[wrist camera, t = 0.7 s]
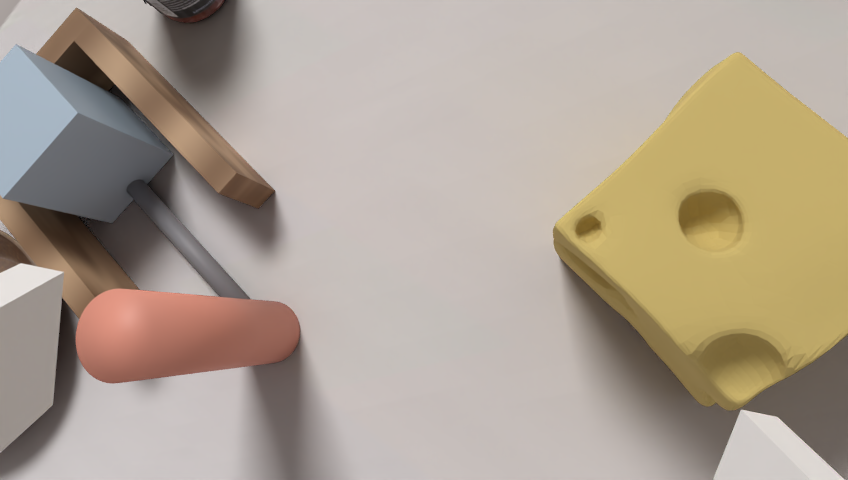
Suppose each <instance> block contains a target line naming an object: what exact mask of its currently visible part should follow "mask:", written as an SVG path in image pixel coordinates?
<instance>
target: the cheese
mask: <svg viewBox="0 0 848 480" xmlns="http://www.w3.org/2000/svg"><path fill="white" fill-rule="evenodd" d="M553 238H554V248H555V250H556V252H557V254H558V255H559V257H560V258H561V259H562V260H563V261H564V262H565V263H566V264H567V265H568V266H569V267H570V268H571V269H572V270H573V271H574V272H575V273H576V274H577V275H578V276H579V277H580V278H581V279H582V280H583V281H585V282H586V283H587V284H588V285H589V286H590V287H591V288H592V289H593V290H594V291H595V292H596V293H597V294H598V295H599V296H600V297H601V298H602V299H603V300H604V301H605V302H606V303H608V304H609V305H610V306H611V307H612V308H613V309H614V310H616V311H617V312H618V313H619V314H620V315H622V316H623V317H624V318H625V319H626V320H627V321H628V322H629V323H630V324H631V325H632V326H633V327H634V328H635V329H636V330H637V331H638V332H639V334H640V335H641V336H642V337H643V338H644V339H645V341H646V342H647V344H648V345H649V346H650V348H651V349H652V350H653V351H654V352H655V353H656V354H657V355H658V356H659V357H660V359H661V360H662V361H663V362H664V363H665V364H666V365H667V366H668V367H669V368H670V370H671V371H672V372H673V373H674V374H675V376H676V377H677V378H678V379H679V380H680V382H681V383H682V384H683V385H684V387H685V388H686V389H687V390H688V391H689V393H690V394H691V395H692V396H693V397H694V399H695V400H696V401H697V402H698V403H700V404H701V405H703V406H706V407H708V406H712V405H714V404H715V403H717V404H718V405H719V406H721V407H722V408H724V409H725V410H728V411H729V410H736V409H739V408H741V407H743V406H744V405H746V404H747V403H748V402H749V401H751V400H752V399H753V398H754V397H755V396H757V395H758V394H759V393H761V392H762V391H764V390H765V389H767V388H768V387H770V386H772V385H774V384H775V383H777V382H779V381H781V380H783V379H785V378H787V377H789V376H791V375H793V374H795V373H796V372H798V371H799V370H801V369H802V368H804V367H806V366H807V365H809V364H811V363H812V362H814V361H815V360H816V359H818V358H819V357H820V356H822V355H823V354H824V353H826V352H827V351H828V350H830V349H831V348H832V347H833V346H835V345H836V344H837V343H838V342H839V341H841V340H842V339H843V338H844V337H846V336H847V335H848V138H847V137H846V136H844V135H843V134H842V133H840V132H839V131H838V130H837V129H835V128H834V127H833V126H831V125H830V124H829V123H828V122H826V121H825V120H824V119H822V118H821V117H820V116H819V115H817V114H816V113H815V112H813V111H812V110H811V109H810V108H808V107H807V106H806V105H804V104H803V103H802V102H801V101H799V100H798V99H797V98H795V97H794V96H793V95H791V94H790V93H789V92H788V91H787V90H785V89H784V88H783V87H782V86H780V85H779V84H778V83H777V82H775V81H774V80H773V79H772V78H771V77H769V76H768V75H767V74H766V73H764V72H763V71H762V70H761V69H760V68H758V67H757V66H756V65H755V64H754V63H753V62H751V61H750V60H749V59H748V58H747V57H745V56H744V55H743V54H741V53H739V52H736V53H734V54H732V55H730V56H729V57H728V58H726V59H725V60H723V61H722V62H720V63H719V64H717V65H715V66H714V67H713V68H711V69H710V70H709V71H708V72H707V73H705V74H704V75H703V76H702V77H701V78H700V79H699V80H698V81H697V82H696V83H695V84H694V85H693V86H692V87H691V88H690V89H689V90H688V91H687V92H686V93H685V94H684V95H683V97H682V98H681V99H680V100H679V102H678V103H677V104H676V105H675V107H674V108H673V109H672V111H671V112H670V114H669V115H668V117H667V118H666V120H665V121H664V122H663V123H662V125H661V126H660V127H659V128H658V129H657V130H656V131H655V132H654V133H653V134H652V135H651V136H650V137H649V138H648V139H647V140H646V141H645V142H644V143H643V144H642V145H641V146H640V147H639V148H638V149H637V150H636V151H635V152H634V153H633V154H632V155H631V156H630V157H629V158H628V159H627V160H626V161H625V162H624V163H623V164H622V165H621V166H620V167H619V168H618V169H617V170H615V171H614V172H613V173H612V174H611V175H610V176H609V177H608V178H607V179H605V180H604V181H603V182H602V183H601V184H600V185H599V186H597V187H596V188H595V189H594V190H593V191H592V192H590V193H589V194H588V195H587V196H586V197H585V198H584V199H582V200H581V201H580V202H579V203H578V204H577V205H575V206H574V207H573V208H572V209H571V210H570V211H569V212H568V213H566V214H565V215H564V216H563V217H562V218H561V219H560V220H559V221H558V222H557V223H556V224H555V226H554V229H553Z"/></svg>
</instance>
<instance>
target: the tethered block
mask: <svg viewBox="0 0 848 480" xmlns="http://www.w3.org/2000/svg"><path fill="white" fill-rule="evenodd" d="M172 156H173V153H172V152H171V151H170V150H169V149H168V148H167V147H166V146H165V145H164V144H163V143H162V142H161V141H160V140H159V139H158V138H157V136H156V135H155V134H154V133H153V132H152V131H151V130H150V129H149V128H148V127H147V126H146V125H145V124H144V123H143V122H142V121H141V119H140V118H139V117H138V116H137V115H136V114H135V113H134V112H133V111H132V110H131V109H130V108H129V107H128V106H127V105H126V103H125V102H124V101H123V100H122V99H121V98H120V97H118V96H116V95H114V94H112V93H110V92H108V91H106V90H104V89H102V88H100V87H98V86H97V85H95V84H93V83H91V82H89V81H87V80H85V79H83V78H81V77H79V76H77V75H75V74H73V73H71V72H69V71H67V70H65V69H63V68H62V67H60V66H58V65H56V64H54V63H52V62H50V61H48V60H46V59H44V58H42V57H40V56H38V55H36V54H34V53H32V52H30V51H28V50H27V49H25V48H23V47H21V46H19V45H17V44H16V45H15V46H14V47H13V48H12V49H11V50H10V52H9V53H8V54H7V55H6V56H5V57H4V59H3V60H2V61H1V62H0V196H1V197H2V198H3V199H7V200H12V201H16V202H21V203H25V204H29V205H34V206H38V207H43V208H47V209H52V210H56V211H60V212H65V213H69V214H74V215H78V216H82V217H87V218H91V219H96V220H100V221H104V222H109V223H113V222H114V221H115V220H116V219H117V218H118V216H119V215H120V214H121V213H122V212H123V211H124V210H125V209H126V207H127V206H128V205H129V204H130V203H131V202H132V201H133V200H134V201H135V202H136V203H137V204H138V205H139V206H140V207H141V208H142V210H143V211H144V212H145V213H146V214H147V215H148V216H149V217H150V219H151V220H152V221H153V222H154V223H155V224H156V225H157V226H158V228H159V229H160V230H161V231H162V232H163V233H164V234H165V236H166V237H167V238H168V239H169V240H170V241H171V242H172V243H173V245H174V246H175V247H176V248H177V249H178V250H179V251H180V252H181V254H182V255H183V256H184V257H185V258H186V259H187V260H188V261H189V263H190V264H191V265H192V266H193V267H194V268H195V269H196V270H197V272H198V273H199V274H200V275H201V276H202V277H203V278H204V279H205V281H206V282H207V283H208V284H209V285H210V286H211V287H212V288H213V290H214V291H215V292H216V293H217V294H218V295H219V296H220V297H215V296H203V295H191V294H180V293H168V292H156V291H144V290H132V289H112V290H108V291H105V292H103V293H101V294H99V295H98V296H97V297H95V298H94V299H93V300H92V301H91V302H90V303H89V304H88V305H87V307H86V308H85V309H84V311H83V313H82V315H81V317H80V319H79V322H78V325H77V330H76V349H77V354H78V357H79V359H80V361H81V363H82V365H83V367H84V368H85V370H86V371H87V372H88V373H89V374H90V375H92V376H93V377H94V378H96V379H97V380H100V381H102V382H106V383H122V382H130V381H137V380H145V379H153V378H161V377H169V376H176V375H184V374H192V373H200V372H208V371H216V370H223V369H231V368H239V367H247V366H255V365H262V364H270V363H277V362H280V361H282V360H284V359H286V358H287V357H288V356H290V355H291V354H292V352H293V351H294V350H295V348H296V346H297V344H298V341H299V337H300V326H299V322H298V319H297V317H296V315H295V313H294V312H293V311H292V310H291V309H290V308H289V307H288V306H287V305H285V304H283V303H280V302H275V301H263V300H251V299H250V298H249V297H248V296H247V295H246V294H245V293H244V291H243V290H242V289H241V288H240V287H239V286H238V285H237V284H236V283H235V281H234V280H233V279H232V278H231V277H230V276H229V275H228V274H227V273H226V272H225V270H224V269H223V268H222V267H221V266H220V265H219V264H218V263H217V262H216V261H215V259H214V258H213V257H212V256H211V255H210V254H209V253H208V252H207V251H206V249H205V248H204V247H203V246H202V245H201V244H200V243H199V242H198V241H197V240H196V238H195V237H194V236H193V235H192V234H191V233H190V232H189V231H188V230H187V228H186V227H185V226H184V225H183V224H182V223H181V222H180V221H179V220H178V219H177V217H176V216H175V215H174V214H173V213H172V212H171V211H170V210H169V209H168V207H167V206H166V205H165V204H164V203H163V202H162V201H161V200H160V199H159V198H158V196H157V195H156V194H155V193H154V192H153V191H152V190H151V189H150V188H149V186H148V185H147V184H148V183H149V182H150V181H151V179H152V178H153V177H154V176H155V175H156V174H157V173H158V172H159V170H160V169H161V168H162V167H163V166H164V165H165V164H166V163H167V161H168V160H169V159H170V158H171V157H172Z"/></svg>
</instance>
